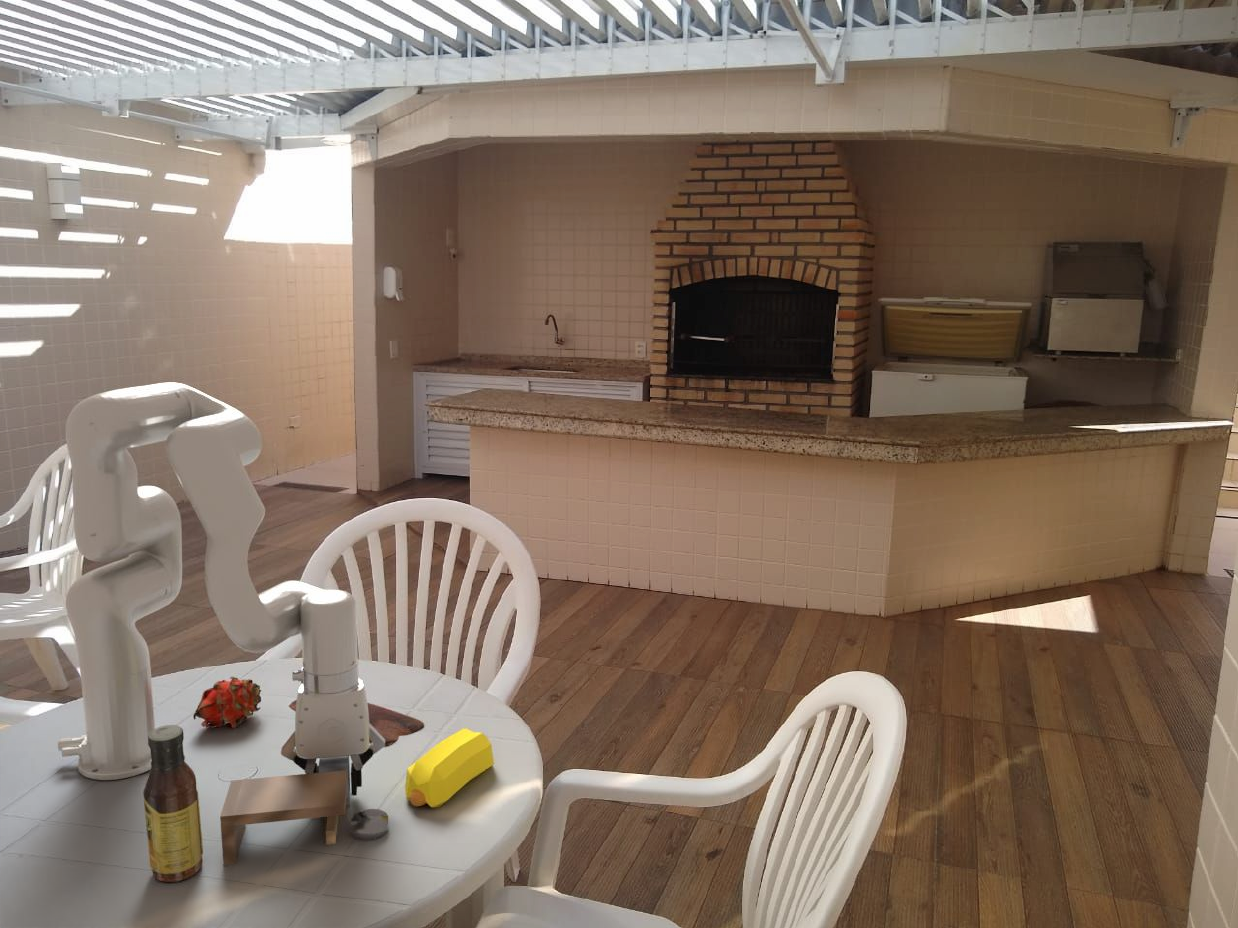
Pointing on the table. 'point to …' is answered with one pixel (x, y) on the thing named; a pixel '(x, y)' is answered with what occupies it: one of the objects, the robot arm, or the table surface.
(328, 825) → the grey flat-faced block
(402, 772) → the table surface
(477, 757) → the yellow faceted part
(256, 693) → the dragon fruit
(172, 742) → the sauce bottle
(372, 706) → the wooden tablet
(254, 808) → the walnut shelf
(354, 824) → the steel token
